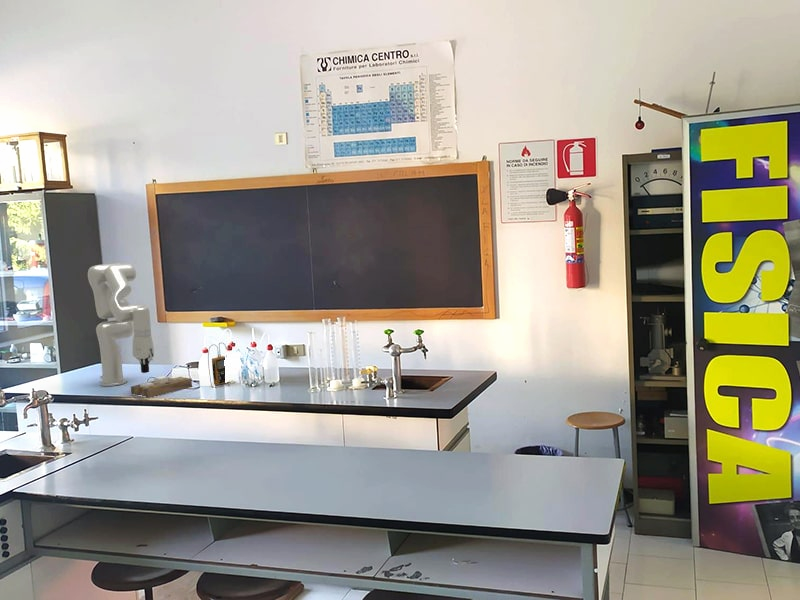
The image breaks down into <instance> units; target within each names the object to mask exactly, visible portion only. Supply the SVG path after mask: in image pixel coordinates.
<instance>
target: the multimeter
mask: <svg viewBox="0 0 800 600" xmlns="http://www.w3.org/2000/svg"><path fill="white" fill-rule="evenodd" d="M220 344H221V342H219V344H218V346H217V345H216V344H214V346H215V347H216V348H217V349H218V352H217V357H213V358H211V366H212V377H213V385H214V384H215V385H214V386H216V388H221V387H224V385H223V384H226V383H225V366H224V360H225V356H224V355H221V349H220V348H221V347H220ZM222 344H223V345H224V347H225V348H227V346H226V344H225V343H224V342H222ZM212 346H213V344H211V345H210V346H209V348H208V351H207V364H208V367H210V361H209V359H210V358H209V356H210V355H209V354H210V349H211V347H212ZM208 372H209V375H211V372H210V369H208ZM209 380H210V382H212V379H211V377H209ZM227 384H228V385H227V386H228V387H230V383H227ZM210 385H211V387H213V385H212V383H210Z"/></svg>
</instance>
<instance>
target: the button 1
mask: <svg viewBox="0 0 800 600" xmlns="http://www.w3.org/2000/svg"><path fill="white" fill-rule="evenodd" d="M143 383H144V384H143ZM143 383H140V387H145V388H147V387H151V386H154V383H147V382H143Z"/></svg>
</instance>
